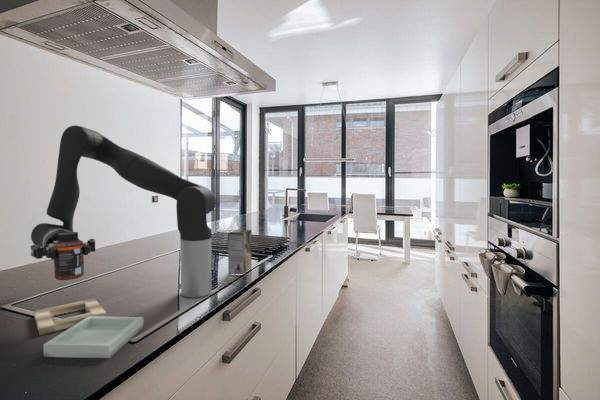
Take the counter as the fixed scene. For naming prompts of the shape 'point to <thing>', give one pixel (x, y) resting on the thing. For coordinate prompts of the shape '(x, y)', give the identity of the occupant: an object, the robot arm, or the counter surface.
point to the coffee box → (239, 251)
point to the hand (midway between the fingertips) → (70, 253)
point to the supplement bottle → (68, 256)
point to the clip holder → (49, 325)
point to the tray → (94, 337)
